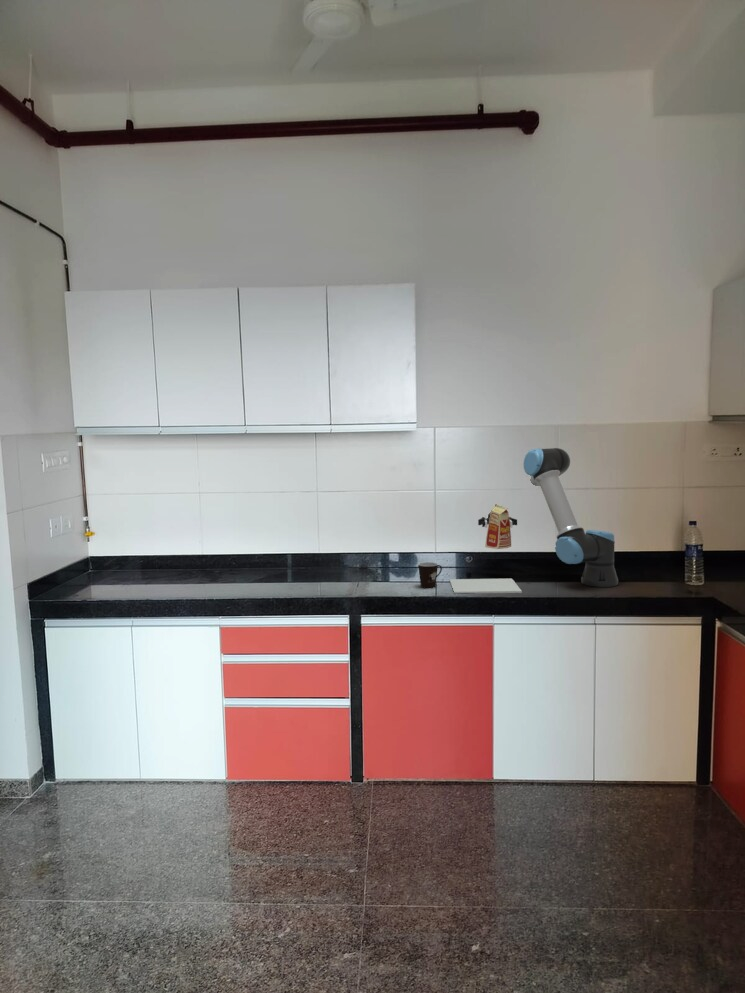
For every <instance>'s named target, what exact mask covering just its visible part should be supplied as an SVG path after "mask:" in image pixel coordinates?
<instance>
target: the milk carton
mask: <svg viewBox="0 0 745 993" xmlns="http://www.w3.org/2000/svg"><path fill="white" fill-rule="evenodd" d="M508 509H509V508H508V507H505V506H503V505H502V506H499V505H497V504H495V507H494V508H493V509H492V510H491V514H490V519H489V524H488V525H487V530H486V531H487V532H486V538H485V548H488V549H495V550H504V549H509V548H511V547H512V533H511V528H510V521H509V517H510V515H509V511H508Z"/></svg>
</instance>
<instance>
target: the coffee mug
mask: <svg viewBox="0 0 745 993" xmlns="http://www.w3.org/2000/svg"><path fill="white" fill-rule="evenodd" d="M417 566H418V576H419V582H420V588H422V587H423V588H422V589H426V588H431V589H434V588H433V587H435V588H436V585H437V578H438V577H439V576H440V574H441V573H442V570H443V568H442V565H441V564H438V563H437V562H429V561H427V562H426V561H425V562H420V563H418V564H417ZM438 567H440V568H439V569H440V570H439V572H438Z"/></svg>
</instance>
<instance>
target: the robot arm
mask: <svg viewBox="0 0 745 993" xmlns="http://www.w3.org/2000/svg"><path fill="white" fill-rule="evenodd" d="M570 466H571V458H570V455H569V453H567V451H566V450H564V449H562V448H559V447H552V448H551V447H550V448H539V447H538V448H534V449H531V450H528V452H527V453H526V454H525V455H524V459H523V469H524V472H525V473H526V475H527V476H528V475H530V476H531V479H530V481H531V483H532V484H533V485H535V486H539V487H540V489H541V491H542V494H543V496H544V497H543V498H544V499H545V501H546V504H547V507H548V508H549V511H550V514H551V516H552V519H553V522H554V524H555V527H556V529H557V532H558V533H557V535H556V539H557V540H556V542H555V545H554V546H555V548H554V550H555V553H556V555H557V557H558V559H559V560H561V562H563V563H565V564H568V565H572V564H573V565H578V564H581V563H585V566H584V569H583V572H582V574H581V575H582V576H581V578H580V580H581V581H580V582H581V584H583V585H584V586H590V587H596V588H611V587H617V586H618V585H619V578H618V575H617V572H616V568H615V535H614V533H613V532H610V531H605V530H597V529H596V530H595V529H587V530H586V531H585V529H584V527H582V526H579V525H578V522H577V520H576V517H575V515H574V512H573V510H572V508H571V505H570V502H569V500H568V498H567V495H566V492H565V491H564V486H562V483H561V480H560V476H561V475H563V474H564V473H566V472H567V471H568V469H569V468H570ZM490 514H491V512H490V513H489V514H488V518H486V517H484V516H482V517H481V518H479V519H477V521H478V522H477V523H478V524H477V525H478V526H481V527H482V528H485V529H488V524H489V519H490ZM509 521H510V529H512V528H513V526H518V519H516V518H512V517H511V516H509Z"/></svg>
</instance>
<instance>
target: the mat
mask: <svg viewBox="0 0 745 993" xmlns="http://www.w3.org/2000/svg"><path fill="white" fill-rule="evenodd" d="M449 584H450V586H451V588H453V589H452V592H453V591H454V592H453V594H454V593H475V594H522V593H523V591H522V589H521V588H520V587H519V586H518V584H517V583H516V582H515V580H514V579H513V578H461V579H460V578H457V579H456V578H454V579H453V578H450V579H449Z"/></svg>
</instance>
